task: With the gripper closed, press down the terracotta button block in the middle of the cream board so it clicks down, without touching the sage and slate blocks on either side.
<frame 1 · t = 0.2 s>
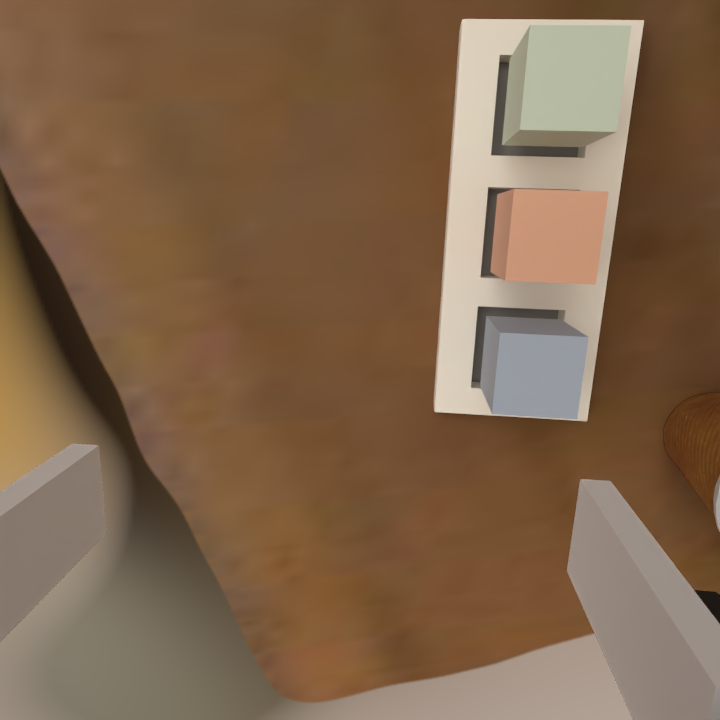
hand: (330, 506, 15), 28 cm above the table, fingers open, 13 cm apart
sage block: (558, 92, 31), point 6 cm above the table, slide at 0.0 cm
terracotta block: (542, 236, 33), point 6 cm above the table, slide at 0.0 cm
slate block: (528, 363, 35), point 6 cm above the table, slide at 0.0 cm
board: (523, 234, 39), on the table
disposable coffee cup: (705, 431, 42), on the table
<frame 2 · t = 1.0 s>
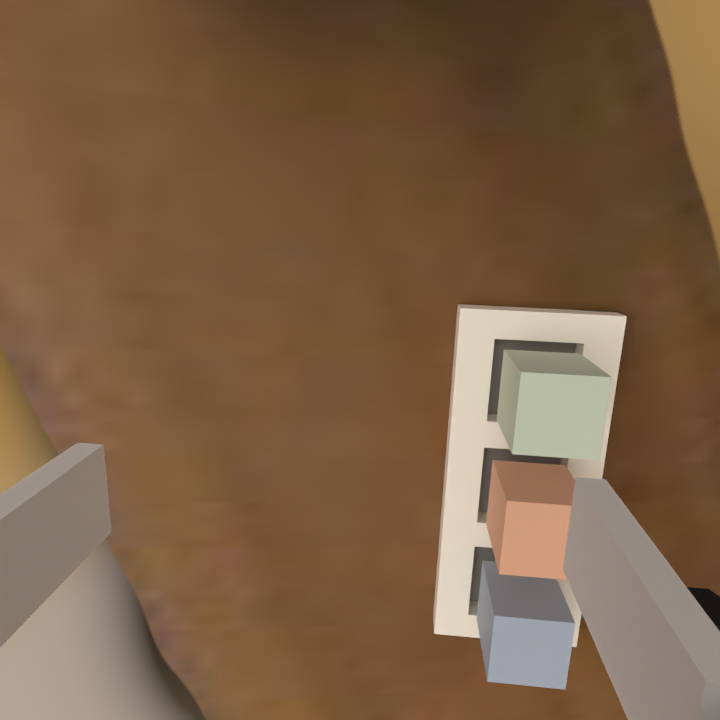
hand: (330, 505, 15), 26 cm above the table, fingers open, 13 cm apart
sage block: (548, 400, 34), point 6 cm above the table, slide at 0.0 cm
terracotta block: (534, 516, 36), point 6 cm above the table, slide at 0.0 cm
slate block: (521, 620, 38), point 6 cm above the table, slide at 0.0 cm
board: (516, 476, 42), on the table
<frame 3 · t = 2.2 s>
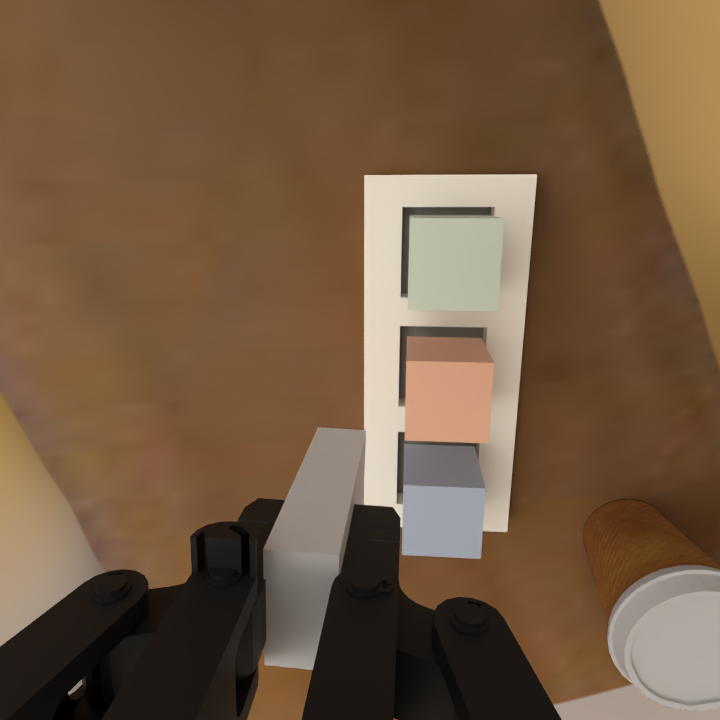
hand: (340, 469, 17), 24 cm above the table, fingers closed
sage block: (450, 259, 33), point 6 cm above the table, slide at 0.0 cm
terracotta block: (445, 386, 35), point 6 cm above the table, slide at 0.0 cm
slate block: (440, 497, 37), point 6 cm above the table, slide at 0.0 cm
board: (440, 360, 41), on the table
disposable coffee cup: (623, 532, 44), on the table
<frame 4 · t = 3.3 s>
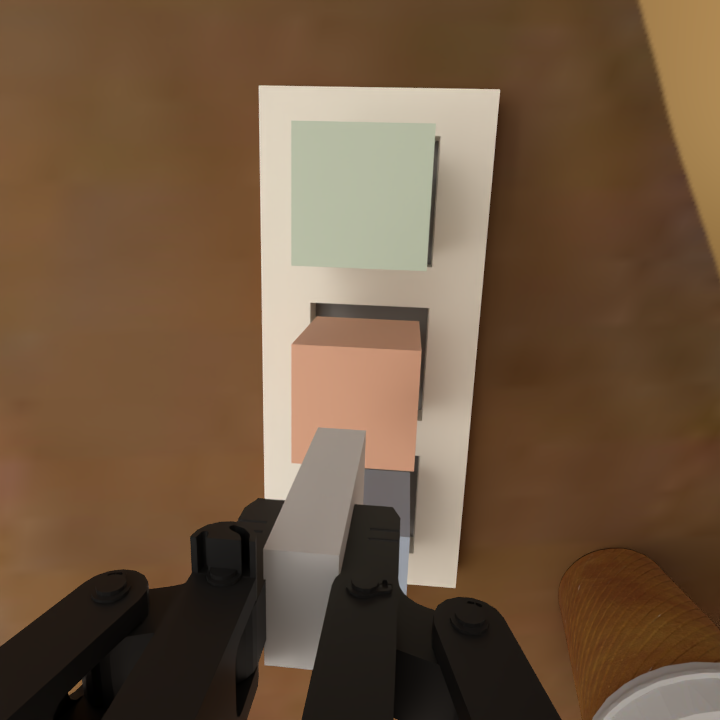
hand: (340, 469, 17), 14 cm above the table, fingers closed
sage block: (366, 199, 23), point 6 cm above the table, slide at 0.0 cm
terracotta block: (360, 386, 25), point 6 cm above the table, slide at 0.0 cm
slate block: (355, 543, 27), point 6 cm above the table, slide at 0.0 cm
board: (370, 353, 30), on the table
disposable coffee cup: (611, 591, 33), on the table
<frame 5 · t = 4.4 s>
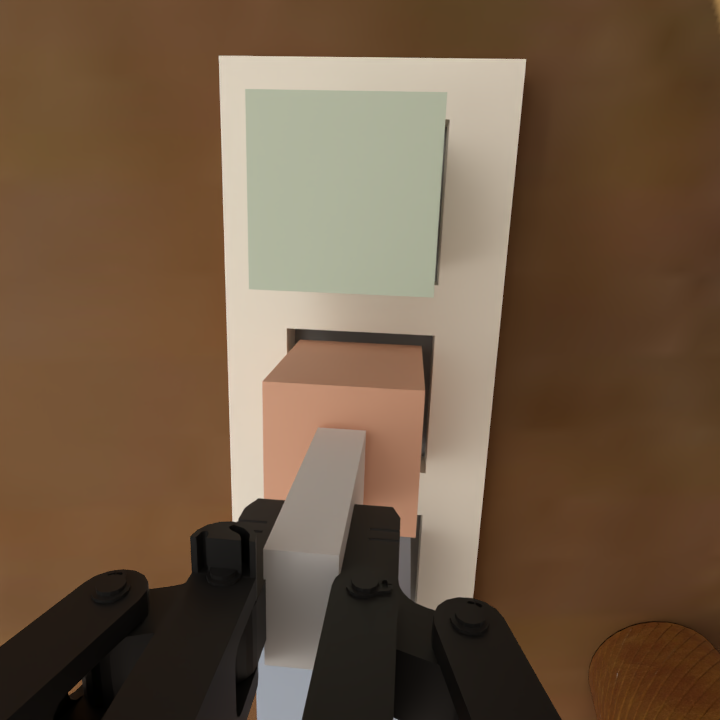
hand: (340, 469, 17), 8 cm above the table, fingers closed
sage block: (353, 199, 17), point 6 cm above the table, slide at 0.0 cm
terracotta block: (350, 426, 20), point 5 cm above the table, slide at 1.3 cm, touching gripper
slate block: (341, 633, 21), point 6 cm above the table, slide at 0.0 cm
board: (361, 388, 25), on the table
disposable coffee cup: (652, 671, 28), on the table
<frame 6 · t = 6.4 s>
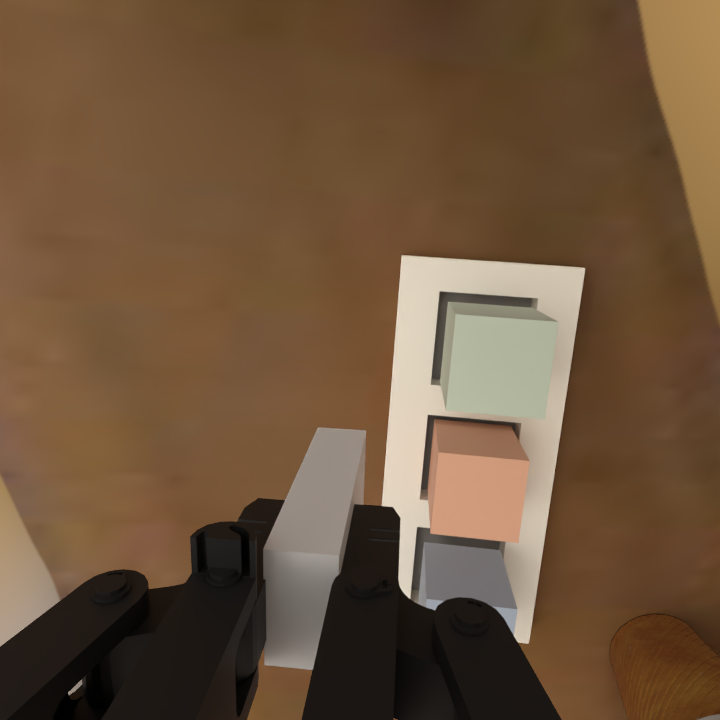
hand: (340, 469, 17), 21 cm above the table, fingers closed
sage block: (492, 355, 31), point 6 cm above the table, slide at 0.0 cm
terracotta block: (473, 476, 34), point 4 cm above the table, slide at 1.8 cm
slate block: (462, 608, 34), point 6 cm above the table, slide at 0.0 cm
board: (466, 451, 38), on the table
disposable coffee cup: (653, 649, 40), on the table
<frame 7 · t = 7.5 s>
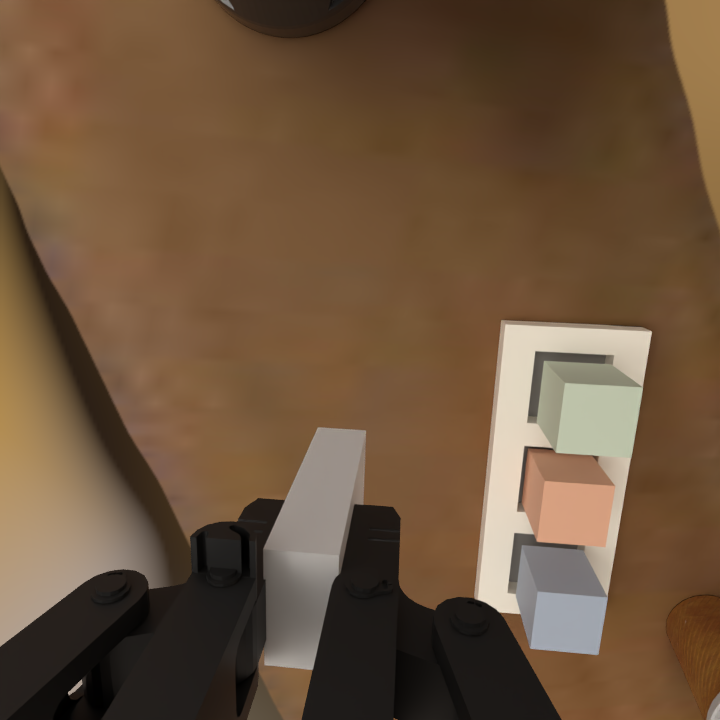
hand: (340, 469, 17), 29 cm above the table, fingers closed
sage block: (584, 406, 40), point 6 cm above the table, slide at 0.0 cm
terracotta block: (564, 494, 44), point 4 cm above the table, slide at 1.8 cm
slate block: (557, 596, 44), point 6 cm above the table, slide at 0.0 cm
board: (551, 471, 48), on the table
disposable coffee cup: (701, 623, 50), on the table
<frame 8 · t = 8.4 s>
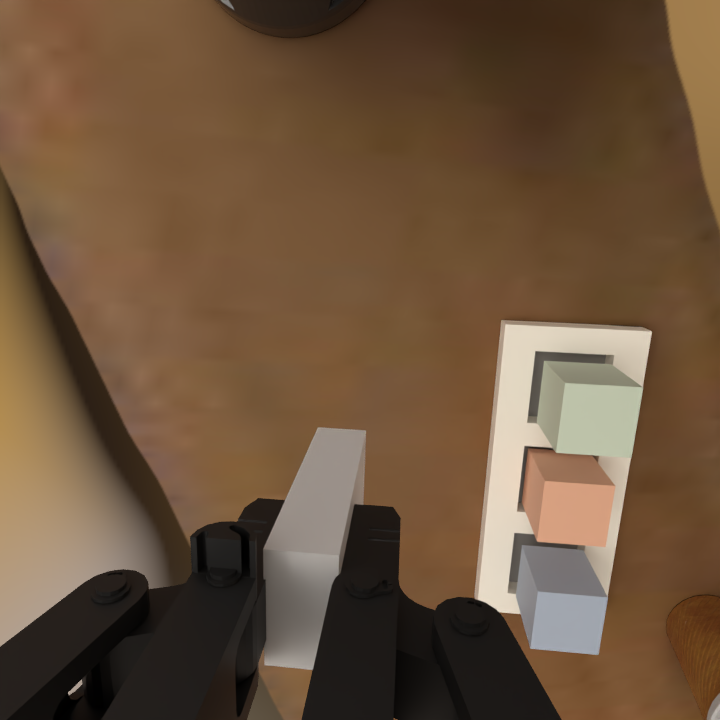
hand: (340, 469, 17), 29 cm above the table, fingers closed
sage block: (585, 406, 40), point 6 cm above the table, slide at 0.0 cm
terracotta block: (564, 494, 44), point 4 cm above the table, slide at 1.8 cm
slate block: (558, 596, 44), point 6 cm above the table, slide at 0.0 cm
board: (551, 471, 48), on the table
disposable coffee cup: (701, 623, 50), on the table
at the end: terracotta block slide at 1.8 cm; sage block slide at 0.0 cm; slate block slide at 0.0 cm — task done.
